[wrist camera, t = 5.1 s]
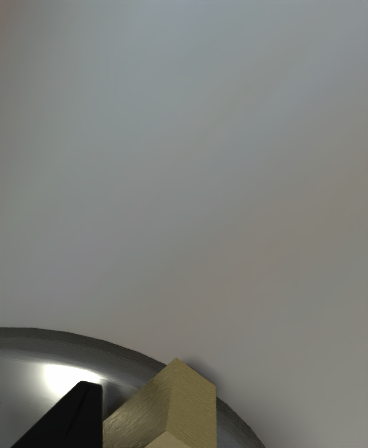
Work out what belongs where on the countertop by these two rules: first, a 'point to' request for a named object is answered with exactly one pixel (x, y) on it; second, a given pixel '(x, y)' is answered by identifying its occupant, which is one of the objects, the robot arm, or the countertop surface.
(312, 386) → the countertop surface
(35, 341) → the tribrach plate
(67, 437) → the robot arm
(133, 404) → the knob
